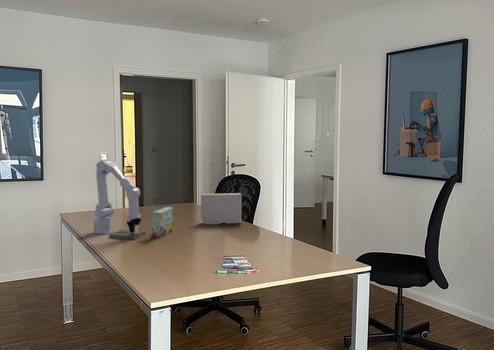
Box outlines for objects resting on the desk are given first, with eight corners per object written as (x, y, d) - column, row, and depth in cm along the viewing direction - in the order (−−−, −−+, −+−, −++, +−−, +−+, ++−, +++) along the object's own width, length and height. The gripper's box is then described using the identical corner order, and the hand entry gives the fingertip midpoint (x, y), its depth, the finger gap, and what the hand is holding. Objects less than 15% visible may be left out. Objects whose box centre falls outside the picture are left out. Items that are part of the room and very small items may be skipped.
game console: (241, 223, 320) (242, 194, 318) (202, 224, 313) (202, 195, 311) (240, 221, 325) (240, 193, 324) (200, 222, 319) (201, 193, 317)
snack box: (160, 238, 273) (160, 212, 271) (151, 237, 274) (151, 212, 272) (173, 230, 293) (173, 206, 292) (165, 230, 294) (164, 206, 293)
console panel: (109, 238, 271) (109, 234, 271) (121, 233, 284) (121, 229, 284) (134, 239, 267) (134, 236, 267) (145, 234, 281) (145, 231, 280)
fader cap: (129, 233, 273) (129, 225, 273) (132, 232, 277) (132, 224, 277) (135, 233, 272) (135, 226, 272) (138, 232, 276) (138, 224, 276)
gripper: (134, 211, 265) (134, 234, 267) (145, 207, 279) (145, 229, 281) (122, 210, 267) (122, 233, 268) (134, 206, 281) (134, 228, 282)
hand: (133, 231), depth 275 cm, fingers closed on fader cap, 4 cm apart
